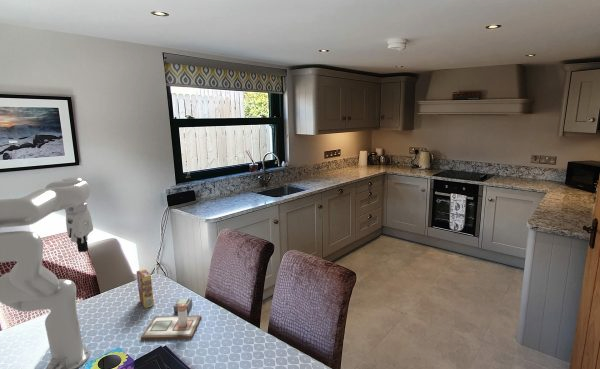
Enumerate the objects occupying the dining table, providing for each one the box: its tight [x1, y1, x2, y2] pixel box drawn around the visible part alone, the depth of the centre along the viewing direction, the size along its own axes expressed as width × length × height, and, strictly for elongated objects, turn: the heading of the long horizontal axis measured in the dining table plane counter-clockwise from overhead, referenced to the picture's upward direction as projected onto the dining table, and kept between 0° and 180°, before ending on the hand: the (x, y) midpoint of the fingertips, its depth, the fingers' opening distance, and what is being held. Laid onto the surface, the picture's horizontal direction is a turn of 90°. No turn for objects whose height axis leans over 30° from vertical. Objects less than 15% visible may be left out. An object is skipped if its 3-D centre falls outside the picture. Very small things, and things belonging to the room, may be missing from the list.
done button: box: [176, 298, 189, 305], centre depth 157 cm, size 4×4×2 cm
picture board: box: [140, 314, 202, 341], centre depth 143 cm, size 14×20×1 cm
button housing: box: [173, 298, 193, 314], centre depth 157 cm, size 6×6×4 cm
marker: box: [177, 303, 188, 327], centre depth 142 cm, size 4×4×9 cm
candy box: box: [136, 268, 155, 309], centre depth 162 cm, size 9×4×15 cm, turn 39°
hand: (83, 251), depth 144 cm, fingers closed
